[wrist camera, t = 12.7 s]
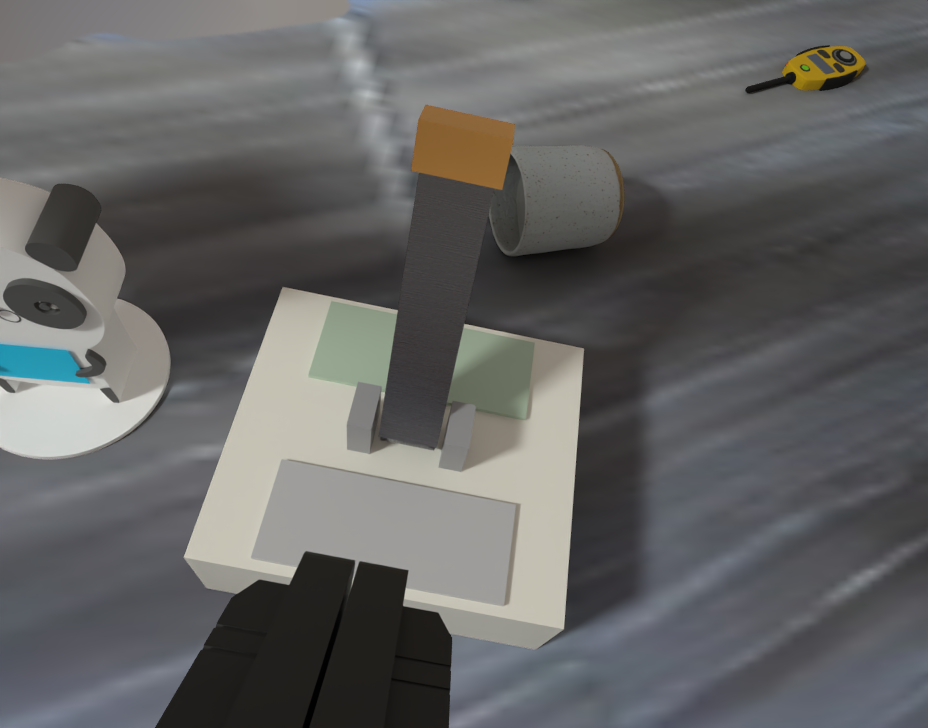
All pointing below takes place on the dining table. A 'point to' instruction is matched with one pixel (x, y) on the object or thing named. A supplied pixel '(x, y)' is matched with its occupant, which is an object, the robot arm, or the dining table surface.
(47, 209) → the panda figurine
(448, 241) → the lever
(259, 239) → the dining table surface
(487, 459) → the switch box
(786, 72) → the yellow walkie-talkie
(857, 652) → the dining table surface
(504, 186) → the ceramic mug
